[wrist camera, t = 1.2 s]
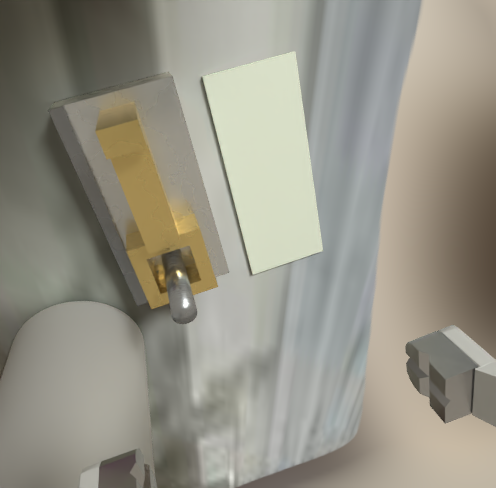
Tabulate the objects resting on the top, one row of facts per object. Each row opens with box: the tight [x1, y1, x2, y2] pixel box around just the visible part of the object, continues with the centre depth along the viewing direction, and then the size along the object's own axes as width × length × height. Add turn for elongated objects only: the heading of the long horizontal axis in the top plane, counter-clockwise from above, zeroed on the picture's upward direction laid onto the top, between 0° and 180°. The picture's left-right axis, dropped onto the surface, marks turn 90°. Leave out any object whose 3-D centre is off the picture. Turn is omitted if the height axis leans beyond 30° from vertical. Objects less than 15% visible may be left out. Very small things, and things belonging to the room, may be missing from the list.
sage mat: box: [202, 51, 323, 275], centre depth 39 cm, size 20×8×1 cm, turn 13°
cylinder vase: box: [0, 301, 155, 488], centre depth 32 cm, size 12×12×25 cm
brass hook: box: [95, 102, 218, 309], centre depth 32 cm, size 16×6×6 cm, turn 13°
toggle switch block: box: [48, 72, 229, 324], centre depth 32 cm, size 18×9×12 cm, turn 13°
